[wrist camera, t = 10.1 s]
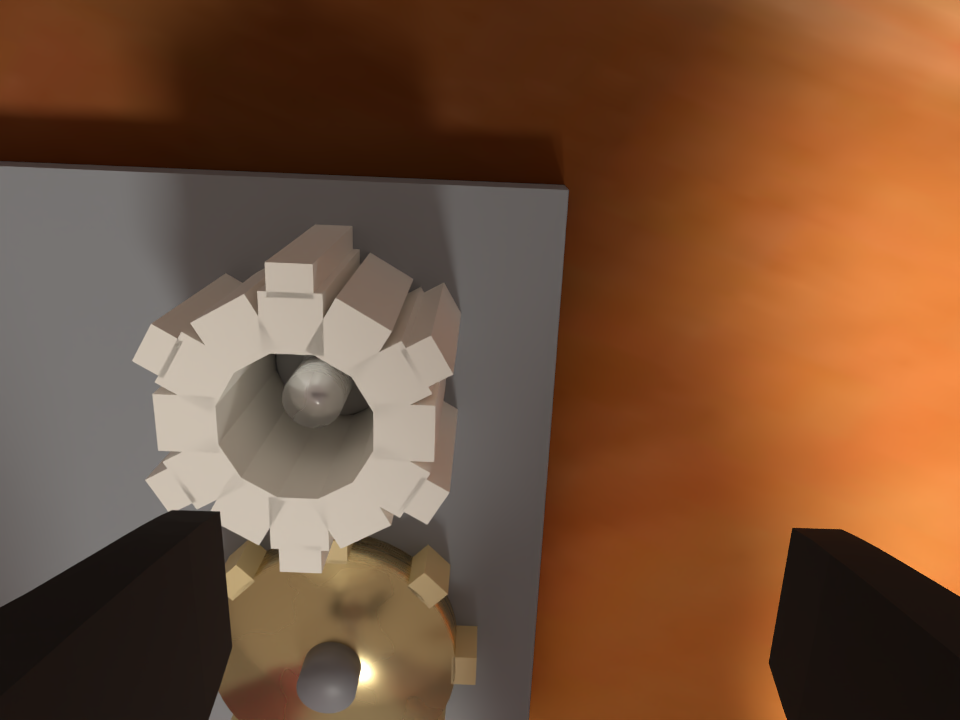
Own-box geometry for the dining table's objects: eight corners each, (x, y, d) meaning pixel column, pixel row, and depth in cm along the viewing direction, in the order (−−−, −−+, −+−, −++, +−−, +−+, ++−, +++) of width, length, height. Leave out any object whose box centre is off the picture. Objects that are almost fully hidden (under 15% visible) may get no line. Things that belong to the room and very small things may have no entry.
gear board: (525, 719, 22) (531, 829, 19) (-36, 697, 22) (-129, 803, 19) (564, 184, 17) (582, 205, 14) (-153, 154, 17) (-305, 168, 14)
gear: (455, 480, 19) (447, 578, 15) (222, 470, 19) (154, 566, 15) (464, 230, 17) (456, 270, 13) (203, 219, 17) (120, 255, 13)
